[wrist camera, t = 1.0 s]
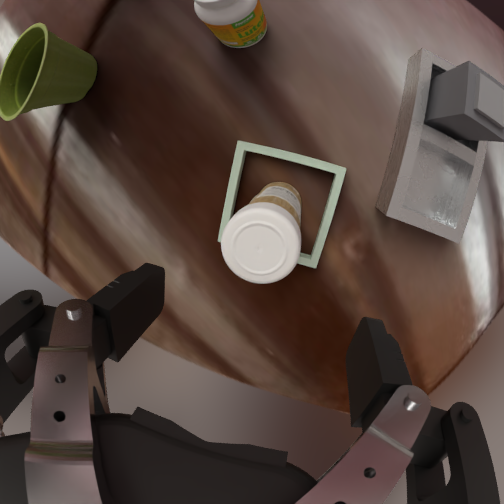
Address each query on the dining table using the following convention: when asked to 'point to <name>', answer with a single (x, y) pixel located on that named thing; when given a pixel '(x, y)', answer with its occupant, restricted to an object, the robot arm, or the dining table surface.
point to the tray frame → (338, 170)
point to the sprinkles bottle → (265, 235)
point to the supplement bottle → (233, 20)
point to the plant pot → (43, 73)
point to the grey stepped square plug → (466, 104)
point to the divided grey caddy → (429, 162)
